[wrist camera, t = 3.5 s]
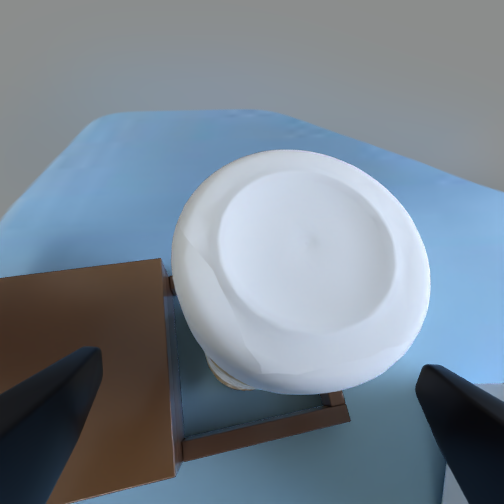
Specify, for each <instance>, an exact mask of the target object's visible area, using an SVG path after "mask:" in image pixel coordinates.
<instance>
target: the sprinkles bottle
mask: <svg viewBox="0 0 504 504" xmlns="http://www.w3.org/2000/svg"><path fill="white" fill-rule="evenodd" d="M171 267H172V276H173V281H174V286H175V291H176V294H177V297H178V300H179V303H180V306H181V308H182V311H183V314H184V317H185V319H186V321H187V324H188V326H189V328H190V330H191V332H192V334H193V335H194V337H195V339H196V341H197V342H198V343H199V345H200V346H201V347H202V349H203V350H204V352H205V355H206V359H207V363H208V366H209V368H210V370H211V371H212V372H213V374H214V376H215V377H216V378H217V379H218V380H219V381H220V382H221V383H222V384H224V385H226V386H228V387H230V388H232V389H236V390H242V391H245V390H255V389H260V390H264V391H268V392H273V393H278V394H292V395H312V394H321V393H329V392H336V391H341V390H344V389H348V388H352V387H355V386H358V385H360V384H363V383H365V382H367V381H370V380H372V379H374V378H376V377H377V376H379V375H380V374H382V373H384V372H385V371H386V370H388V369H389V368H390V367H391V366H392V365H393V364H394V363H396V362H397V361H398V360H399V359H400V358H401V357H402V356H403V355H404V354H405V353H406V352H407V350H408V349H409V348H410V346H411V345H412V343H413V342H414V340H415V338H416V337H417V335H418V333H419V332H420V330H421V328H422V325H423V322H424V319H425V316H426V314H427V310H428V305H429V300H430V287H431V281H430V268H429V263H428V257H427V254H426V250H425V247H424V244H423V242H422V239H421V237H420V234H419V232H418V230H417V228H416V226H415V224H414V222H413V221H412V219H411V217H410V215H409V214H408V213H407V211H406V210H405V209H404V207H403V206H402V205H401V204H400V202H399V201H398V200H397V199H396V198H395V197H394V196H393V195H392V194H391V193H390V192H389V191H388V190H387V189H386V188H385V187H384V186H383V185H381V184H380V183H379V182H378V181H377V180H375V179H374V178H372V177H371V176H369V175H368V174H366V173H365V172H363V171H361V170H360V169H358V168H356V167H354V166H353V165H351V164H348V163H346V162H344V161H341V160H339V159H337V158H334V157H330V156H327V155H324V154H319V153H315V152H310V151H303V150H271V151H263V152H259V153H255V154H251V155H248V156H245V157H241V158H239V159H237V160H235V161H233V162H231V163H229V164H227V165H225V166H223V167H222V168H220V169H219V170H217V171H216V172H214V173H213V174H212V175H211V176H209V177H208V178H207V179H206V180H205V181H204V182H203V183H202V184H201V185H200V186H199V187H198V188H197V189H196V190H195V191H194V193H193V194H192V196H191V197H190V198H189V200H188V201H187V203H186V204H185V206H184V208H183V210H182V213H181V215H180V217H179V219H178V222H177V224H176V228H175V232H174V236H173V241H172V253H171Z"/></svg>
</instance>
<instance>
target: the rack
mask: <svg viewBox="0 0 504 504" xmlns="http://www.w3.org/2000/svg"><path fill="white" fill-rule="evenodd" d="M173 295H174V296H177V294H176V291H175V286H174V281H173V276H168V274H167V271H166V269H165V267H164V264H163V262H162V260H161V258H158V259H150V260H142V261H134V262H126V263H118V264H110V265H101V266H93V267H85V268H77V269H69V270H61V271H53V272H45V273H37V274H29V275H21V276H13V277H5V278H0V394H2V393H3V392H5V391H7V390H9V389H10V388H12V387H14V386H15V385H17V384H19V383H21V382H22V381H24V380H26V379H28V378H29V377H31V376H33V375H34V374H36V373H38V372H40V371H41V370H43V369H45V368H47V367H48V366H50V365H52V364H53V363H55V362H57V361H59V360H60V359H62V358H64V357H66V356H67V355H69V354H71V353H72V352H74V351H76V350H78V349H79V348H81V347H84V346H90V347H99V348H100V349H101V352H102V364H103V378H102V381H101V384H100V386H99V389H98V392H97V394H96V397H95V399H94V402H93V404H92V407H91V409H90V412H89V414H88V417H87V419H86V422H85V425H84V427H83V430H82V432H81V434H80V437H79V439H78V441H77V444H76V446H75V448H74V450H73V452H72V454H71V456H70V458H69V460H68V462H67V463H66V465H65V467H64V469H63V471H62V473H61V475H60V477H59V479H58V481H57V483H56V485H55V487H54V489H53V491H52V493H51V495H50V497H49V499H48V501H47V502H46V504H70V503H74V502H78V501H82V500H86V499H90V498H94V497H98V496H102V495H106V494H110V493H114V492H118V491H122V490H126V489H130V488H134V487H138V486H142V485H146V484H150V483H154V482H158V481H162V480H166V479H170V478H174V477H175V476H176V474H177V472H178V470H179V468H180V466H181V464H182V462H186V461H190V460H195V459H199V458H203V457H207V456H211V455H215V454H219V453H223V452H227V451H231V450H236V449H240V448H244V447H248V446H252V445H256V444H260V443H264V442H268V441H272V440H277V439H281V438H285V437H289V436H293V435H297V434H301V433H305V432H309V431H313V430H317V429H322V428H326V427H330V426H334V425H338V424H342V423H346V422H350V421H351V420H350V416H349V413H348V409H347V406H346V404H345V399H344V396H343V392H342V390H341V391H336V392H329V393H321V394H320V398H321V401H322V405H323V406H319V407H315V408H310V409H306V410H302V411H297V412H293V413H289V414H284V415H280V416H275V417H271V418H267V419H262V420H258V421H254V422H249V423H245V424H241V425H236V426H232V427H228V428H223V429H219V430H214V431H210V432H206V433H201V434H197V435H193V436H188V437H184V425H183V412H182V400H181V387H180V375H179V363H178V350H177V338H176V325H175V313H174V300H173Z"/></svg>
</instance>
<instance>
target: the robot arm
mask: <svg viewBox="0 0 504 504" xmlns="http://www.w3.org/2000/svg"><path fill="white" fill-rule="evenodd" d="M102 378H103V364H102V352H101V349H100V348H99V347H90V346H84V347H81V348H79V349H78V350H76V351H74V352H72V353H71V354H69V355H67V356H66V357H64V358H62V359H60V360H59V361H57V362H55V363H53V364H52V365H50V366H48V367H47V368H45V369H43V370H41V371H40V372H38V373H36V374H34V375H33V376H31V377H29V378H28V379H26V380H24V381H22V382H21V383H19V384H17V385H15V386H14V387H12V388H10V389H9V390H7V391H5V392H3V393H2V394H0V504H46V502H47V501H48V499H49V497H50V495H51V493H52V491H53V489H54V487H55V485H56V483H57V481H58V479H59V477H60V475H61V473H62V471H63V469H64V467H65V465H66V463H67V462H68V460H69V458H70V456H71V454H72V452H73V450H74V448H75V446H76V444H77V441H78V439H79V437H80V434H81V432H82V430H83V427H84V425H85V422H86V419H87V417H88V414H89V412H90V409H91V407H92V404H93V402H94V399H95V397H96V394H97V392H98V389H99V386H100V384H101V381H102ZM415 392H416V396H417V398H418V400H419V403H420V405H421V407H422V410H423V412H424V414H425V417H426V419H427V421H428V423H429V426H430V428H431V430H432V433H433V435H434V437H435V440H436V442H437V444H438V446H439V448H440V451H441V453H442V455H443V457H444V459H445V460H446V462H447V464H448V466H449V468H450V470H451V472H452V474H453V475H454V477H455V479H456V481H457V483H458V485H459V487H460V489H461V490H462V492H463V494H464V496H465V498H466V500H467V502H468V503H469V504H504V401H502V400H500V399H498V398H497V397H495V396H493V395H491V394H490V393H488V392H486V391H484V390H483V389H481V388H479V387H477V386H476V385H474V384H472V383H470V382H469V381H467V380H465V379H464V378H462V377H460V376H458V375H457V374H455V373H453V372H451V371H450V370H448V369H446V368H444V367H443V366H441V365H433V364H426V365H424V366H423V367H422V370H421V372H420V375H419V378H418V381H417V383H416V386H415Z"/></svg>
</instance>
